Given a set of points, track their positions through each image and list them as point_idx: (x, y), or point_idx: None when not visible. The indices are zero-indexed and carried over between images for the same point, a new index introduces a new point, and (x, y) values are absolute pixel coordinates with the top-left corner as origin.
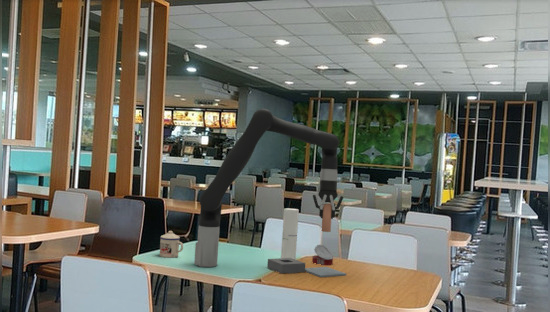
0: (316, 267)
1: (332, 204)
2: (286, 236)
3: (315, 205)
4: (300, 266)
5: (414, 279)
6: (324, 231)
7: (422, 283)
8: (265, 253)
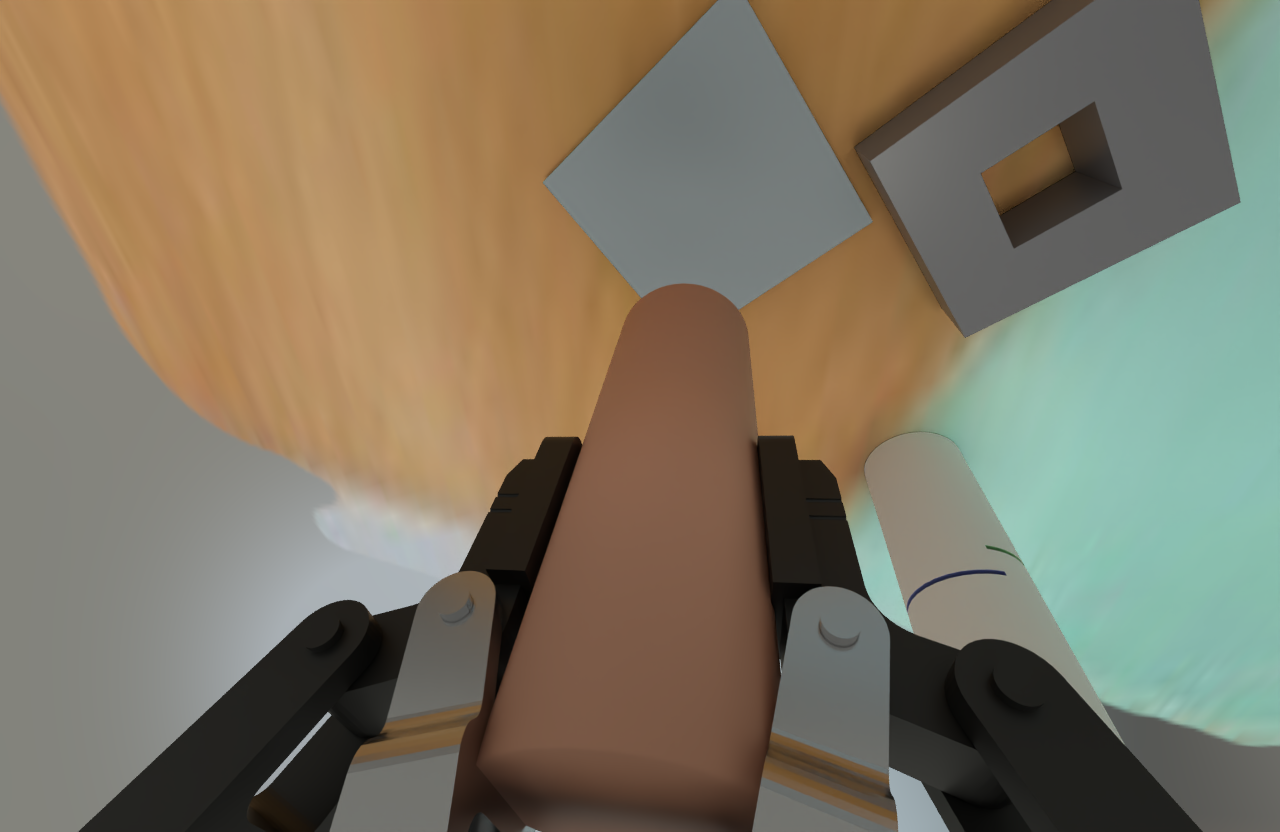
0: (751, 300)
1: (421, 745)
2: (1013, 568)
3: (1120, 740)
4: (915, 120)
5: (180, 246)
6: (708, 290)
7: (92, 146)
8: None
